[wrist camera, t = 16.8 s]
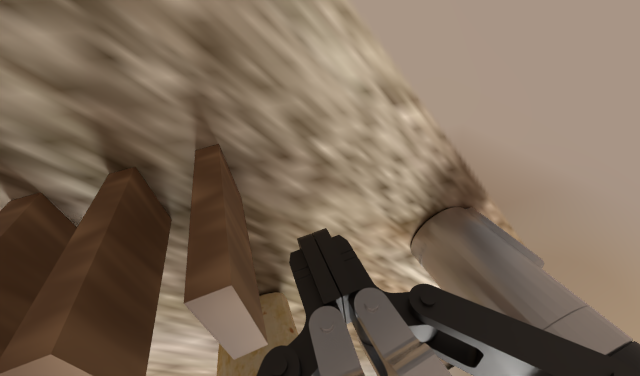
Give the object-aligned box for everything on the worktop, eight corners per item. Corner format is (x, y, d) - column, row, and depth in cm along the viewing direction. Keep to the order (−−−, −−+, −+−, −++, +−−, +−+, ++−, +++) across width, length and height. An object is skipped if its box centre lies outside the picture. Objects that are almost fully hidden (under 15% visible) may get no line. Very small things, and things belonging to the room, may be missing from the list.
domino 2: (135, 166, 17) (50, 354, 8) (171, 219, 20) (141, 400, 11) (109, 173, 17) (-12, 378, 8) (149, 226, 20) (100, 418, 11)
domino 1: (40, 192, 16) (-188, 445, 7) (94, 244, 19) (-13, 467, 10) (10, 200, 16) (-273, 477, 6) (70, 252, 19) (-64, 490, 9)
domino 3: (218, 144, 18) (231, 285, 9) (241, 197, 21) (268, 344, 12) (195, 150, 18) (183, 303, 9) (221, 203, 21) (233, 359, 12)
